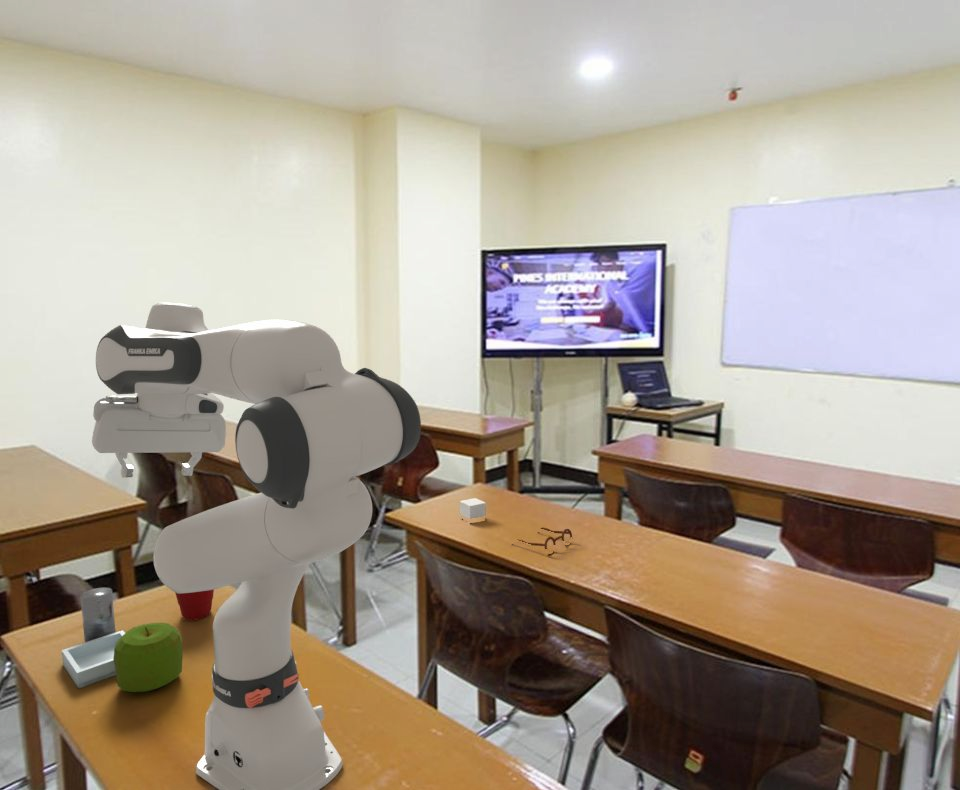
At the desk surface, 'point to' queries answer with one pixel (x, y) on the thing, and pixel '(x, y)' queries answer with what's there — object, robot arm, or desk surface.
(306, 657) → the desk surface
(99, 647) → the tray
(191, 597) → the plastic cup
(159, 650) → the apple
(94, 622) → the tin
